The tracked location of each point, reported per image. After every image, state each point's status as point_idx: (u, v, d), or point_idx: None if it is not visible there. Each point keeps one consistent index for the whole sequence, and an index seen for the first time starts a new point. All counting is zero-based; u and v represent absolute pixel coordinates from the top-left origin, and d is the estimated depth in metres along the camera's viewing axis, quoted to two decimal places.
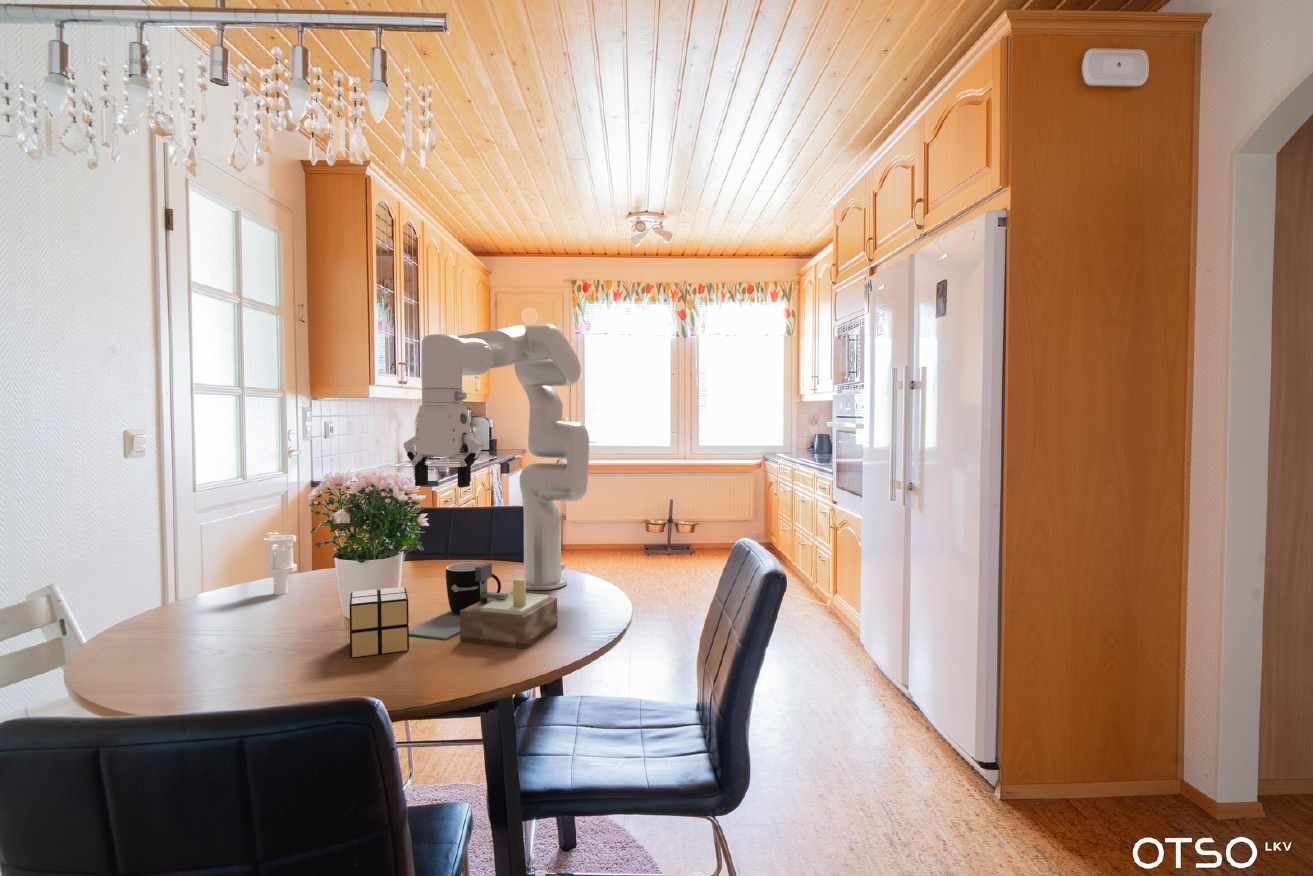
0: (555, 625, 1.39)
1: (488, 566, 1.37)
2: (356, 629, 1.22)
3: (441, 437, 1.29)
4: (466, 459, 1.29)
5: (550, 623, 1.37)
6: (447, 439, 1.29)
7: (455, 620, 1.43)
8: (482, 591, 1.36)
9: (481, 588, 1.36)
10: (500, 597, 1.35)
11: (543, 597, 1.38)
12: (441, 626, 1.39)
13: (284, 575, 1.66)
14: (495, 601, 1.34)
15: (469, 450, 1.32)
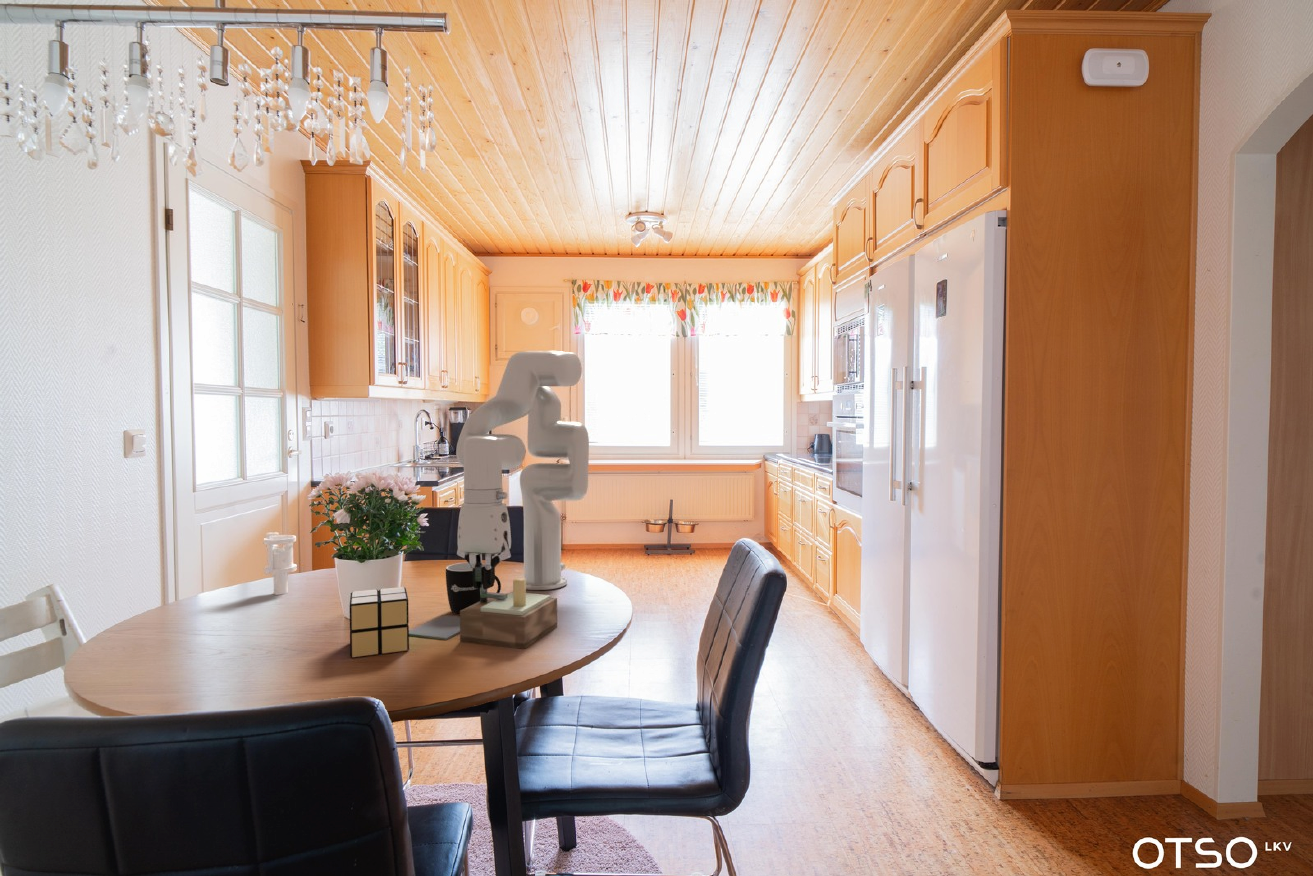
0: (555, 625, 1.39)
1: None
2: (356, 629, 1.22)
3: (483, 536, 1.34)
4: (491, 562, 1.35)
5: (550, 623, 1.37)
6: (489, 538, 1.34)
7: (455, 620, 1.43)
8: (482, 591, 1.36)
9: (481, 588, 1.36)
10: (500, 597, 1.35)
11: (543, 597, 1.38)
12: (441, 626, 1.39)
13: (284, 575, 1.66)
14: (495, 601, 1.34)
15: (509, 546, 1.37)
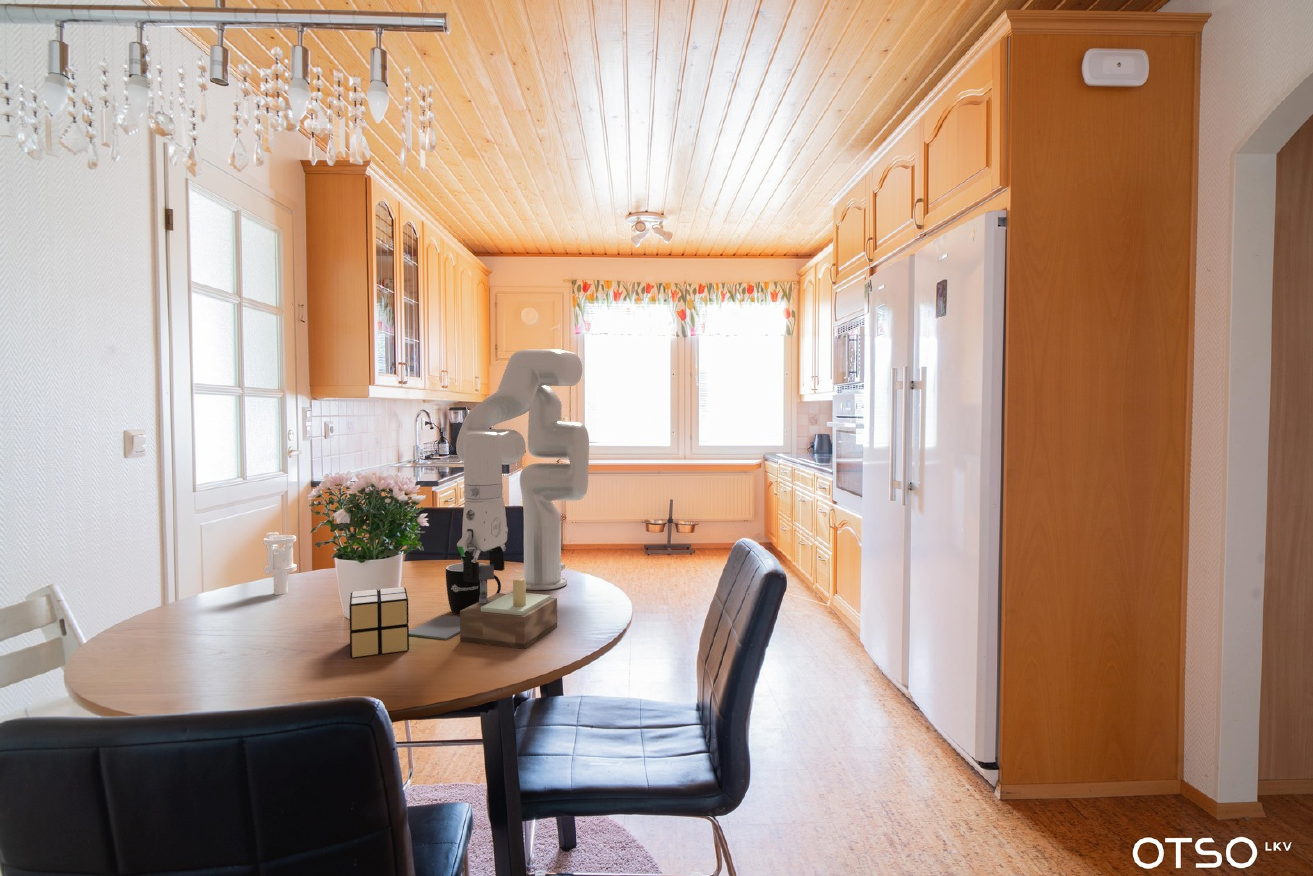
0: (555, 625, 1.39)
1: (486, 567, 1.36)
2: (356, 629, 1.22)
3: None
4: None
5: (550, 623, 1.37)
6: None
7: (455, 620, 1.43)
8: (480, 590, 1.37)
9: None
10: (479, 600, 1.33)
11: (543, 597, 1.38)
12: (441, 626, 1.39)
13: (284, 575, 1.66)
14: (495, 601, 1.34)
15: (478, 547, 1.32)
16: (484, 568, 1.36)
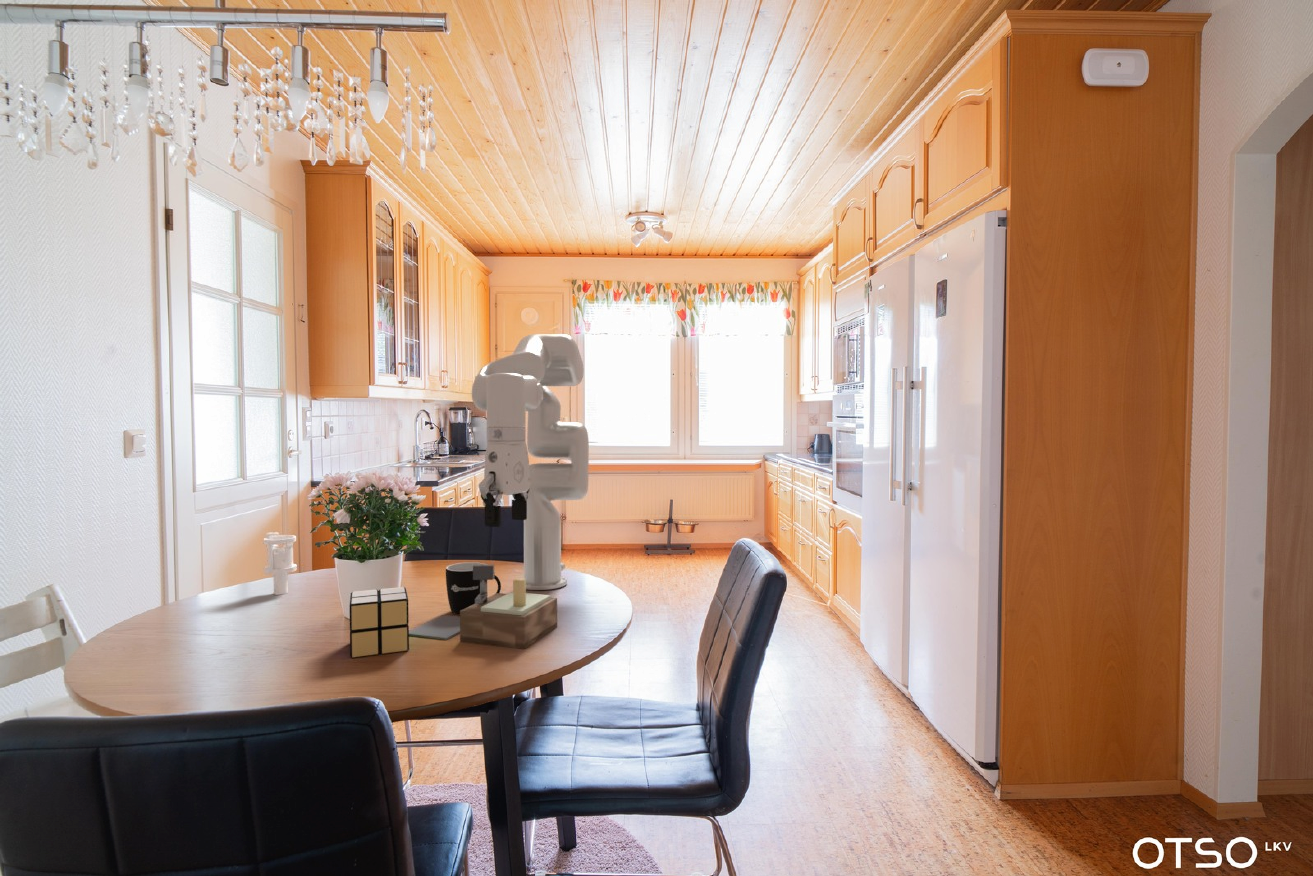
0: (555, 625, 1.39)
1: (485, 567, 1.36)
2: (356, 629, 1.22)
3: None
4: None
5: (550, 623, 1.37)
6: None
7: (455, 620, 1.43)
8: (480, 590, 1.37)
9: None
10: None
11: (543, 597, 1.38)
12: (441, 626, 1.39)
13: (284, 575, 1.66)
14: (495, 601, 1.34)
15: (500, 490, 1.27)
16: (483, 568, 1.36)
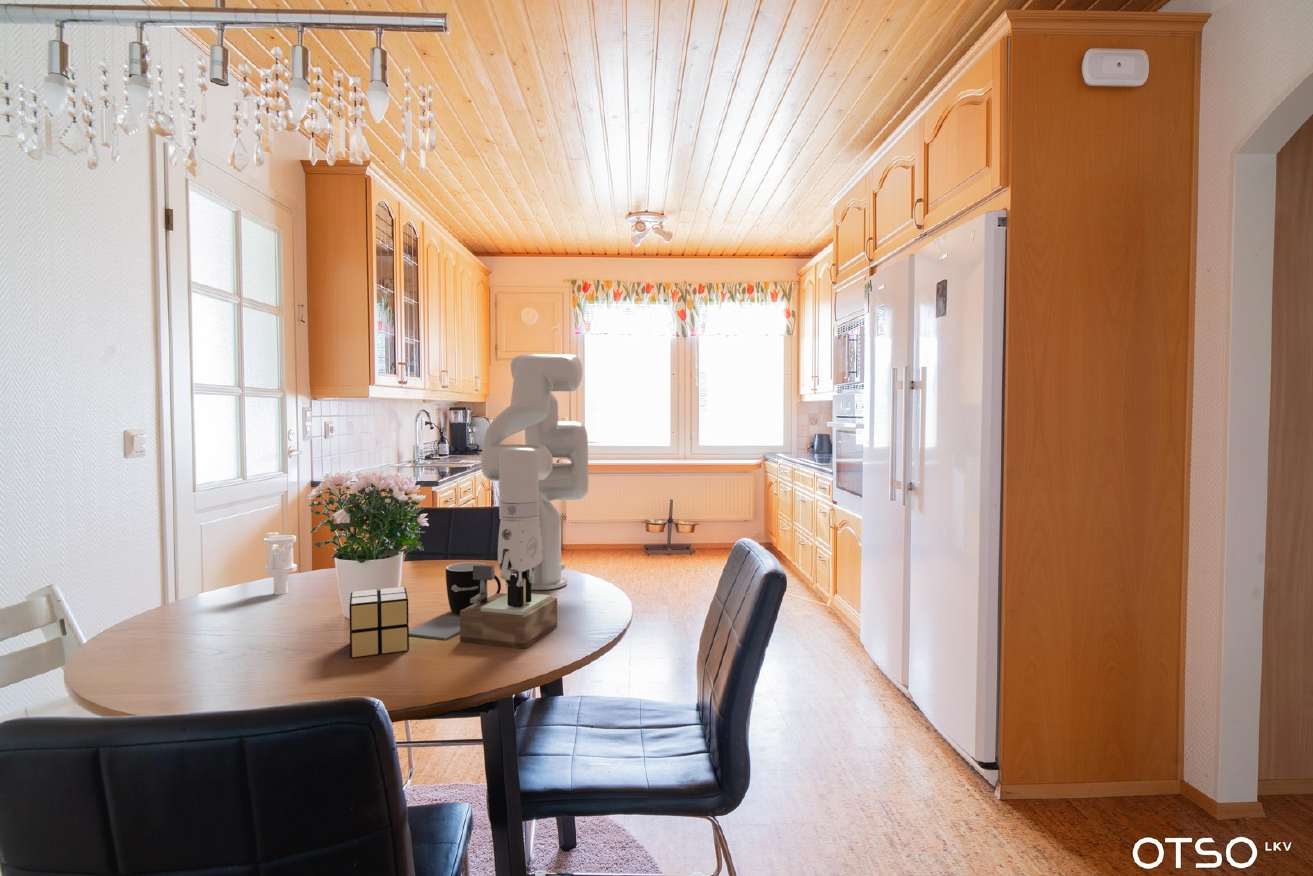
0: (555, 625, 1.39)
1: (484, 567, 1.36)
2: (356, 629, 1.22)
3: None
4: None
5: (550, 623, 1.37)
6: None
7: (455, 620, 1.43)
8: None
9: None
10: None
11: (543, 597, 1.38)
12: (441, 626, 1.39)
13: (284, 575, 1.66)
14: (495, 601, 1.35)
15: (514, 568, 1.26)
16: (483, 568, 1.36)
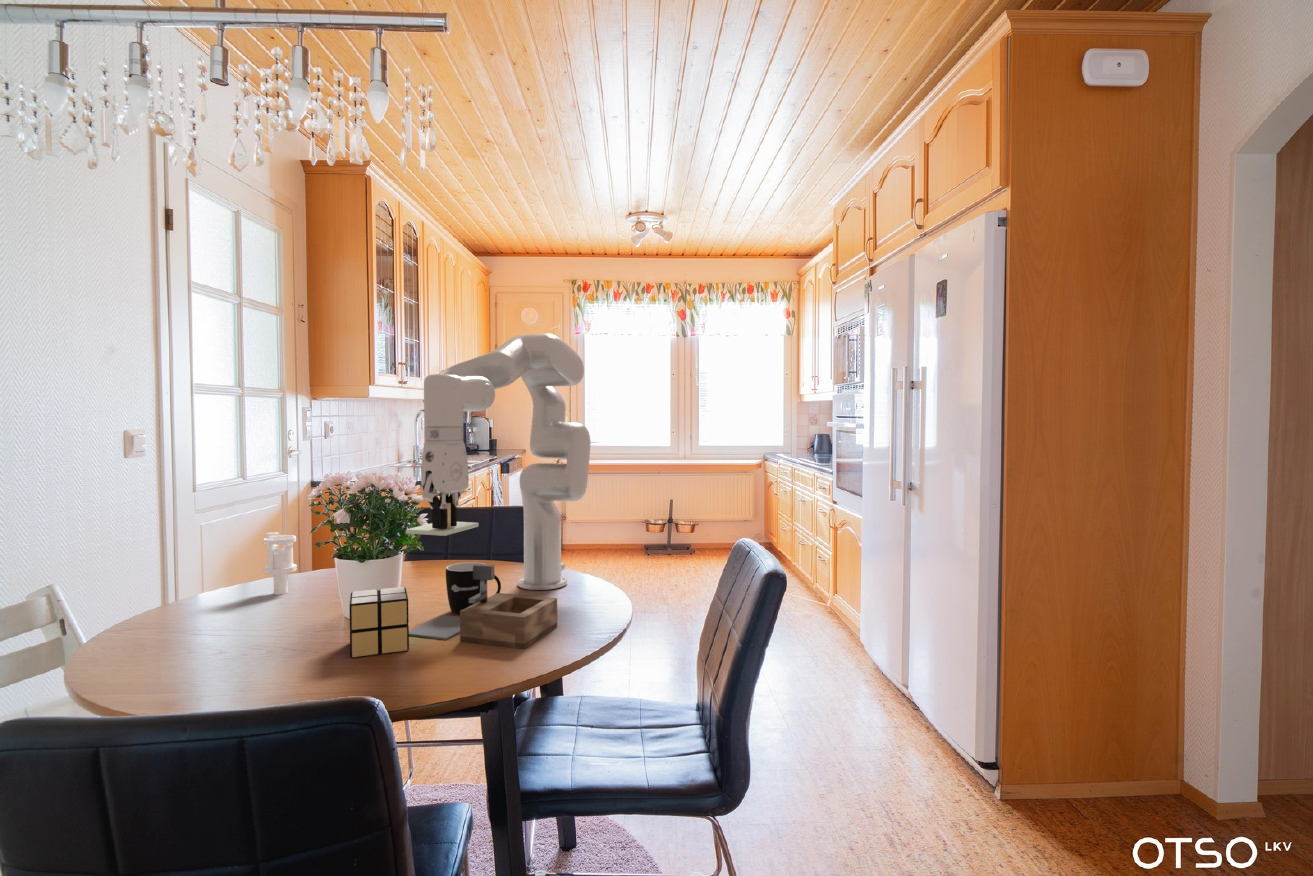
0: (555, 625, 1.39)
1: (484, 567, 1.36)
2: (356, 629, 1.22)
3: None
4: None
5: (550, 623, 1.37)
6: None
7: (455, 620, 1.43)
8: None
9: None
10: None
11: (470, 524, 1.41)
12: (441, 626, 1.39)
13: (284, 575, 1.66)
14: (422, 526, 1.38)
15: (436, 489, 1.30)
16: (482, 568, 1.36)
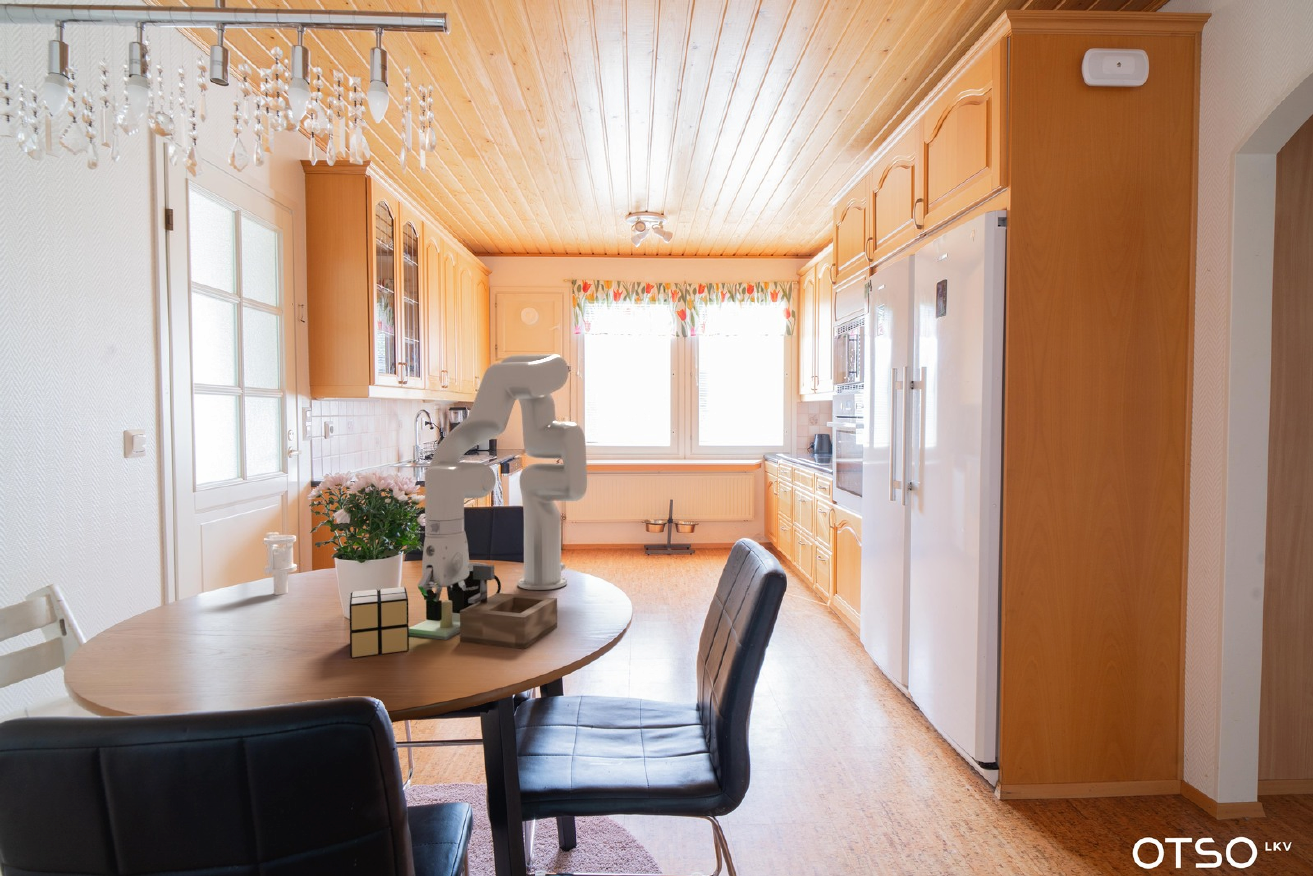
0: (555, 625, 1.39)
1: (484, 567, 1.36)
2: (356, 629, 1.22)
3: None
4: None
5: (550, 623, 1.37)
6: None
7: None
8: None
9: None
10: None
11: None
12: None
13: (284, 575, 1.66)
14: (424, 622, 1.39)
15: (437, 583, 1.31)
16: (482, 568, 1.36)
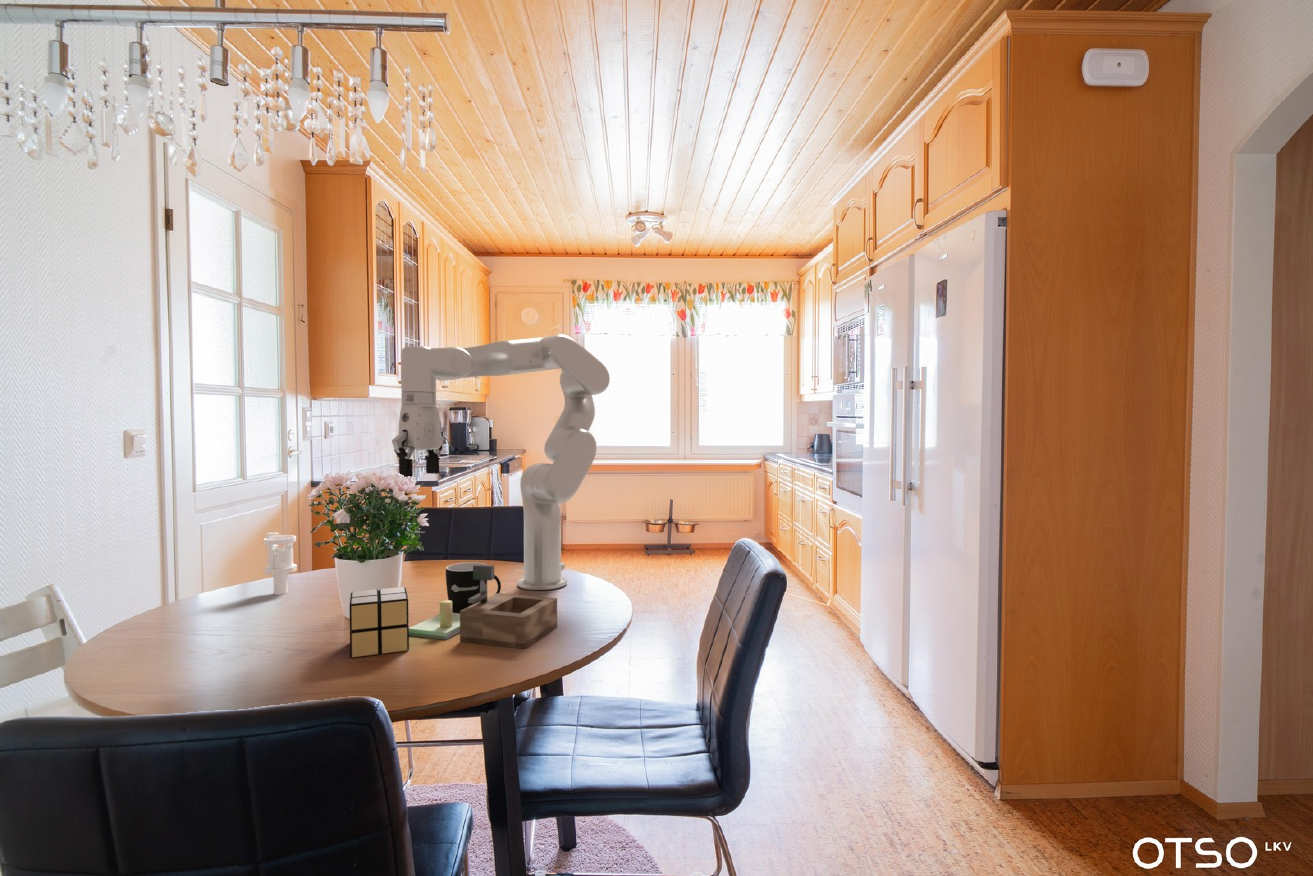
0: (555, 625, 1.39)
1: (484, 567, 1.36)
2: (356, 629, 1.22)
3: None
4: None
5: (550, 623, 1.37)
6: None
7: None
8: None
9: None
10: None
11: None
12: None
13: (284, 575, 1.66)
14: (424, 622, 1.39)
15: (411, 445, 1.49)
16: (482, 568, 1.36)
